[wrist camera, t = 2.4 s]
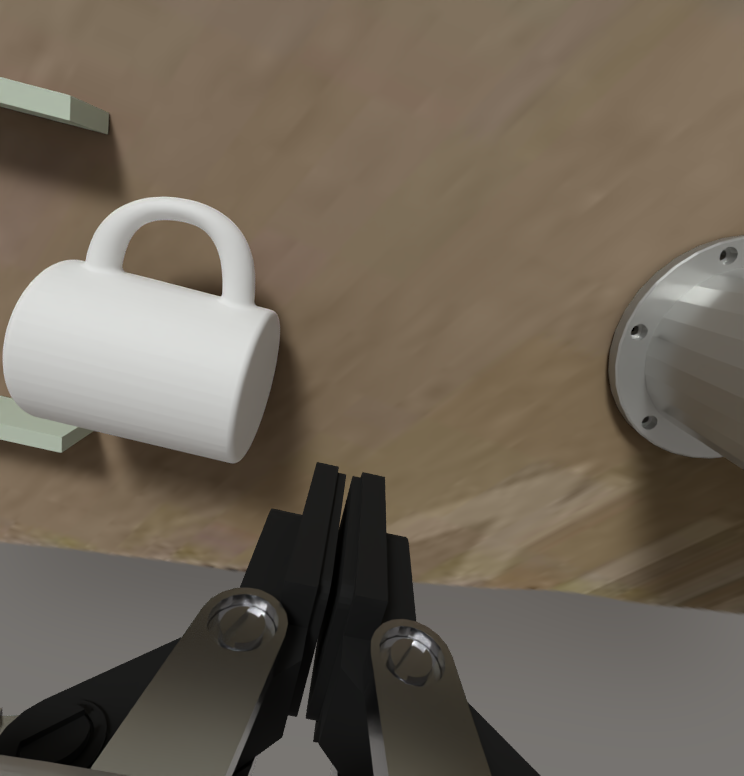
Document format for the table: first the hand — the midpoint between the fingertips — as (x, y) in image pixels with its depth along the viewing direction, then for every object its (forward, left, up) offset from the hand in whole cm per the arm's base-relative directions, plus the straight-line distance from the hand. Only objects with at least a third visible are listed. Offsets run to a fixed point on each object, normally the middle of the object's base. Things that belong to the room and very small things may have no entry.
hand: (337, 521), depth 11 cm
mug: (+10, 0, -17) cm, 19 cm away
